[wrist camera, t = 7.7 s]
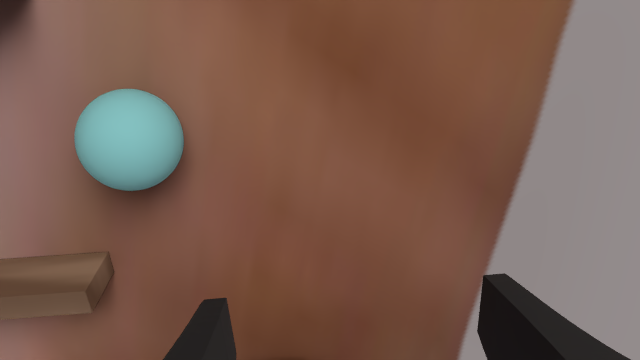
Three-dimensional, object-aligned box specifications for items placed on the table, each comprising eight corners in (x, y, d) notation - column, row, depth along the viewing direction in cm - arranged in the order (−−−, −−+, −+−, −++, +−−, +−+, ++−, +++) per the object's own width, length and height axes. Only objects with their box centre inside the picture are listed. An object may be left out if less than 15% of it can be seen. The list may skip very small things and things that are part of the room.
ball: (203, 189, 20) (113, 221, 17) (149, 156, 22) (60, 179, 20) (205, 98, 19) (105, 117, 16) (146, 71, 21) (49, 83, 18)
